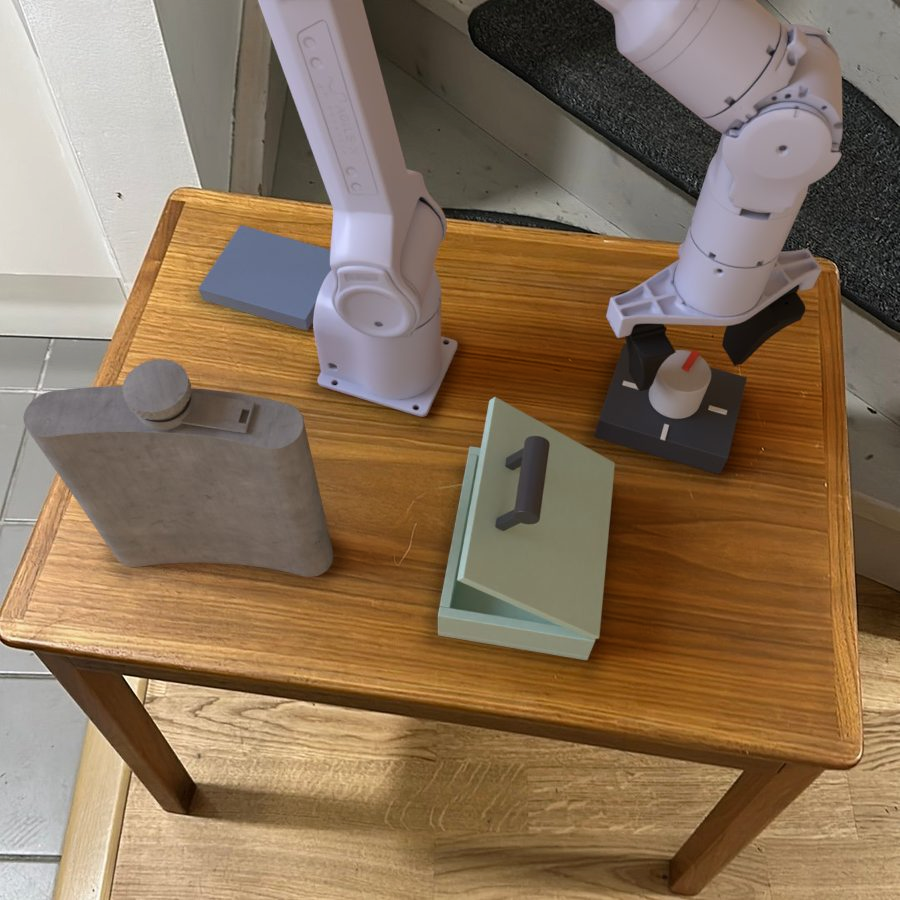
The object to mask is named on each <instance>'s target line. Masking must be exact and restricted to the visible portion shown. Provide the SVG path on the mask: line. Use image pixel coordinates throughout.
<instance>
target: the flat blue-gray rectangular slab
mask: <svg viewBox="0 0 900 900" xmlns="http://www.w3.org/2000/svg"><path fill="white" fill-rule="evenodd" d="M331 270H332V269H331V266H330V248H325V247H322V246H318V245H315V244H311V243H308V242H303V241H301V240H297V239H293V238H290V237H285V236H282V235H279V234H275V233H272V232H267V231H265V230H261V229H257V228H254V227H250V226H246V225H243V224H240V225H239V226H238V228H237V229H236V231H235V232H234V233H233V235H232V237H231V238H230V240H229V241H228V242H227V244H226V246H225V247H224V249H223V250H222V251H221V252H220V255H219V256H218V258H217V259H216V261H215V262H214V264H213V265H212V267H211V268H210V270H209V271H208V272H207V274H206V276H205V277H204V279H203V280H202V282H201V283H200V285H199V286H198V292H199V295H200V298H201V300H202V301H204V302H208V303H212V304H214V305H219V306H222V307H225V308H229V309H232V310H235V311H239V312H242V313H245V314H249V315H252V316H255V317H259V318H261V319H266V320H269V321H273V322H276V323H278V324H279V323H280V324H283V325H286V326H290V327H293V328H296V329H300V330H302V331H309V330H310V328H311V326H312V325H313V317H314V309H315V304H316V300H317V296H318V293H319V291H320V288H321V286H322V284H323V282H324V280H325V278H326V276H327V275H328V274H329V272H330V271H331Z"/></svg>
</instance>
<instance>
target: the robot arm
mask: <svg viewBox="0 0 900 900" xmlns="http://www.w3.org/2000/svg"><path fill="white" fill-rule="evenodd" d="M593 1H594V2H595V3H596V4H598V5H599V6H601V7H602V8H603V9H605V10H606V11H608V12H609V13H610V14H611V15H612V17H613V21H614V26H615V27H614V28H615V29H614V30H615V45H616V49H617V51H618V52H619V53H620V54H621V55H622V56H623V57H624V58H625V59H627V60H628V61H630V62H631V63H632V64H633V65H634V66H636V67H637V68H638V69H639V70H640V71H642V72H643V73H644V74H645V75H646V76H648V77H649V78H650V79H651V80H653V81H654V82H655V83H656V84H658V85H659V86H660V87H661V88H662V89H664V90H665V91H666V92H668V93H669V94H670V95H671V96H672V97H674V98H675V99H676V100H677V101H679V102H680V103H681V104H682V105H683V106H684V107H686V108H687V109H689V110H690V111H691V112H692V113H694V114H695V115H696V116H697V117H698V118H699V119H701V120H702V121H703V122H705V124H707V125H708V126H709V127H711V128H713V129H714V130H716V131H718V132H719V133H721V136H720V140H719V144H718V146H717V150H716V152H715V154H714V156H712V159H711V161H710V163H709V164H708V166H707V167H708V168H707V171H706V174H705V177H704V180H703V183H702V187H701V189H700V193H699V196H698V198H697V202H696V205H695V209H694V212H693V215H692V218H691V221H690V224H689V226H688V230H687V233H686V236H685V239H684V242H682V243H680V244H679V246H678V249H677V256H678V259H677V260H675V261H674V262H672V263H671V264H670V265H668V266H666V267H665V268H663V269H661V270H660V271H658V272H657V273H655V274H654V275H652V276H651V277H649V278H648V279H646V280H645V281H643V282H641V283H640V284H638V285H637V286H635V287H633V288H632V289H628V290H623V291H621V292H619V293H617V294H616V295H615V296H611V297H610V299H609V302H608V305H607V311H606V315H605V317H606V319H607V322H608V324H609V325H610V328H611V329H612V331H613V333H614V335H615V337H616V338H618V339H621V338H625V342H626V344H627V348H628V356H629V373H630V375H631V377H632V379H633V381H634V382H635V384H636V386H637V388H638V390H639V391H644V390H648V389H649V388H650V387H651V386H652V384H653V382H654V380H655V377H656V375H657V372H658V370H659V368H660V366H661V365H662V364H663V362H664V361H665V360H666V359H667V358H668V357H669V356H671V355H672V354H674V353H676V351H675V350H676V349H675V348H674V346H673V345H672V343H671V340H670V339H669V338H668V337H669V336H668V335H667V334H666V332H667V326H665V325H681V326H682V325H683V326H706V327H708V326H710V327H726V328H725V330H724V333H723V337H722V343H721V346H722V348H723V350H724V352H725V353H726V355H727V356H728V358H729V360H730V361H731V363H732V365H733V366H734V367H736V366H741V365H743V364H744V363H745V362H746V361H747V360H748V359H750V357H751V356H752V355H753V354H754V353H755V352H756V351H758V349H759V348H760V347H762V345H764V343H766V342H767V341H768V340H769V339H771V338H772V337H773V336H775V335H776V334H777V333H778V332H780V331H782V330H783V329H785V328H787V327H789V326H790V325H793V324H795V323H797V322H799V321H801V320H802V319H803V316H804V314H805V313H806V304H805V302H804V301H803V300H802V298H801V297H800V296H799V294H798V291H806V290H810V289H813V288H814V287H815V284H816V282H817V281H818V278H819V276H820V274H821V272H822V271H823V268H822V266H821V265H820V264H819V262H818V260H817V259H816V258H815V256H814V255H813V254H812V252H811V251H810V249H808V248H802V249H798V250H789V251H788V250H787V251H783V248H784V246H785V243H786V241H787V239H788V237H789V234H790V232H791V230H792V228H793V225H794V223H795V222H796V219H797V217H798V215H799V212H800V210H801V208H802V205H803V204H804V201H805V199H806V197H807V195H808V190H809V186H810V185H812V184H814V183H816V182H817V181H819V180H821V179H822V178H824V177H825V176H826V175H828V174H829V173H830V172H831V171H832V170H833V169H834V168H835V167H836V165H837V164H838V163H839V162H840V159H841V157H842V156H843V154H842V152H841V151H839V150H840V149H839V148H840V146H841V143H842V140H843V132H844V126H843V80H842V79H843V78H842V77H843V75H842V66H841V63H840V58H839V55H838V51H837V50H836V48H835V46H834V45H833V44H832V43H831V42H830V40H829V37H828V35H827V33H826V32H825V31H824V30H822V29H820V28H817V27H816V26H812V25H807V24H801V23H800V24H798V23H797V24H796V23H795V24H793V23H791V24H790V23H789V24H785V23H782V22H780V21H779V20H778V19H777V18H776V17H774V15H772V14H771V13H770V12H769V11H768V10H767V9H765V7H764V6H762V5H761V4H760V3H759V2H758V0H593ZM257 2H258V5H259V8H260V10H261V13H262V16H263V19H264V22H265V24H266V27H267V30H268V32H269V35H270V39H271V40H272V43H273V46H274V50H275V52H276V55H277V57H278V60H279V63H280V65H281V68H282V69H281V70H282V71H283V74H284V77H285V79H286V82H287V85H288V88H289V91H290V93H291V97H292V99H293V102H294V104H295V107H296V111H297V113H298V116H299V119H300V121H301V124H302V128H303V129H304V133H305V135H306V138H307V141H308V144H309V147H310V149H311V151H312V152H311V153H312V154H313V157H314V160H315V163H316V166H317V168H318V171H319V174H320V176H321V179H322V182H323V185H324V188H325V190H326V194H327V197H328V199H329V201H330V204H331V207H332V226H331V235H330V236H331V239H330V248H329V250H330V266H331V269H332V270H331V271H330V272H329V274H328V275H327V276H326V278H325V280H324V282H323V284H322V286H321V288H320V291H319V293H318V296H317V300H316V304H315V309H314V317H313V322H312V325H313V326H312V329H313V335H314V341H315V346H316V352H317V357H318V362H319V369H320V373H319V374H318V376H317V384H318V385H319V386H320V387H322V388H325V389H329V390H331V391H334V392H338V393H342V394H344V395H348V396H351V397H354V398H358V399H362V400H364V401H367V402H371V403H374V404H378V405H381V406H384V407H387V408H390V409H394V410H397V411H400V412H404V413H406V414H410V415H413V416H417V417H421V418H422V417H423V418H424V417H426V416H428V414H429V412H430V410H431V409H432V405H433V403H434V401H435V399H436V397H437V395H438V393H439V390H440V388H441V385H442V383H443V381H444V379H445V376H446V374H447V372H448V369H449V368H450V365H451V363H452V361H453V358H454V357H455V355H456V352H457V350H458V347H459V346H458V345H459V344H458V341H457V340H455V339H454V338H449V337H445V336H443V335H442V285H441V281H440V278H439V275H438V273H437V271H436V268H435V264H436V260H437V257H438V255H439V254H438V253H439V250H440V247H441V244H442V243H443V241H444V239H445V237H446V235H447V230H448V223H447V222H448V221H447V218H446V215H445V213H444V211H443V209H442V208H441V206H440V205H439V204H438V203H437V201H436V200H435V199H433V197H432V195H430V193H429V191H428V189H427V187H426V184H425V180H424V175H423V174H422V173H421V172H419V171H415V170H412V169H408V168H407V166H406V162H405V158H404V154H403V150H402V146H401V141H400V139H399V134H398V131H397V127H396V124H395V119H394V116H393V112H392V108H391V104H390V101H389V96H388V93H387V89H386V85H385V82H384V77H383V75H382V70H381V66H380V62H379V58H378V55H377V51H376V47H375V43H374V40H373V36H372V33H371V28H370V25H369V20H368V17H367V16H368V15H367V14H366V9H365V5H364V2H363V0H257ZM446 343H447V344H446ZM335 384H336V385H335ZM415 408H417V409H415Z"/></svg>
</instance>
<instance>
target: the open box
mask: <svg viewBox="0 0 900 900" xmlns="http://www.w3.org/2000/svg"><path fill="white" fill-rule="evenodd" d="M480 449H481V447H478V446H471V445H470V446H469V448H468V453H467V458H466V463H465V469H464V475H463V479H462V485H461V489H460V490H461V492H460V497H459V500H458V506H457V512H456V517H455V521H454V527H453V532H452V539H451V542H450V543H451V544H450V549H449V553H448V559H447V565H446V570H445V575H444V580H443V586H442V591H441V597H440V600H439V601H440V602H439V608H438V611H437V612H438V613H437V636H440V637H445V638H450V639H457V640H464V641H469V642H476V643H481V644H488V645H493V646H499V647H505V648H511V649H517V650H522V651H529V652H533V653H534V652H535V653H542V654H547V655H553V656H559V657H565V658H570V659H577V660H583V661H588V660H589V657H590V655H591V652H592V650H593V647H594V645H595V643H596V639H595V640H591V639H589V638H587V637H584V636H582V635H580V634H578V633H575V632H573V631H571V630H569V629H566V628H564V627H562V626H559V625H557V624H555V623H553V622H550V621H548V620H546V619H544V618H541V617H539V616H537V615H535V614H532V613H530V612H528V611H526V610H523V609H521V608H519V607H516V606H514V605H512V604H510V603H507V602H505V601H503V600H501V599H498V598H496V597H494V596H492V595H489V594H487V593H485V592H482V591H480V590H478V589H476V588H473V587H471V586H469V585H467V584H464V583H462V582H460V581H458V580H457V577H458V571H459V566H460V560H461V555H462V549H463V544H464V538H465V533H466V527H467V522H468V516H469V510H470V505H471V499H472V494H473V488H474V483H475V477H476V472H477V466H478V461H479V455H480Z"/></svg>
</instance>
